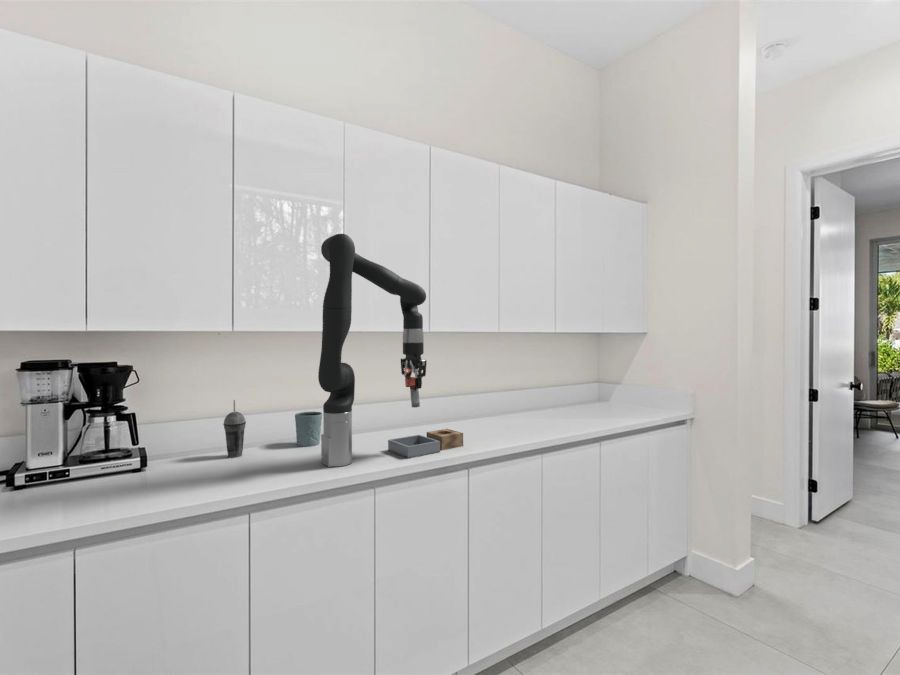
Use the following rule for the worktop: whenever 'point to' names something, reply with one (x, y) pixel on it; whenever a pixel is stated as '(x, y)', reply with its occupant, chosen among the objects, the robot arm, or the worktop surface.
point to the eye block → (447, 438)
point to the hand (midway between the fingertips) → (413, 387)
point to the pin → (413, 391)
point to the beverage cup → (234, 433)
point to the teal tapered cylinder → (308, 428)
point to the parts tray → (413, 446)
